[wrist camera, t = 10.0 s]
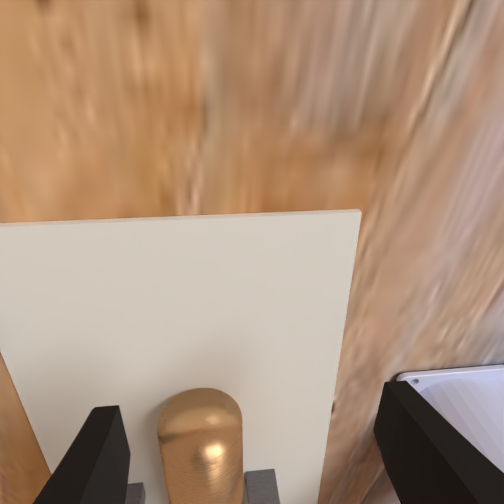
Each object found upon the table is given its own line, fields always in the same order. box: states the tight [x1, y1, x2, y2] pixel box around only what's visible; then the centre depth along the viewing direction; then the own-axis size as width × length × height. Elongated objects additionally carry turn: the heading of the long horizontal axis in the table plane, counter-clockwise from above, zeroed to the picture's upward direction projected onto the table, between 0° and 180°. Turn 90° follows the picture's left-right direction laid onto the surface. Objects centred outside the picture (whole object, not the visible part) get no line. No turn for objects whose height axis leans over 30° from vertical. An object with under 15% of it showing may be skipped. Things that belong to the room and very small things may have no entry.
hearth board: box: [0, 209, 362, 504], centre depth 24 cm, size 18×28×1 cm, turn 0°
